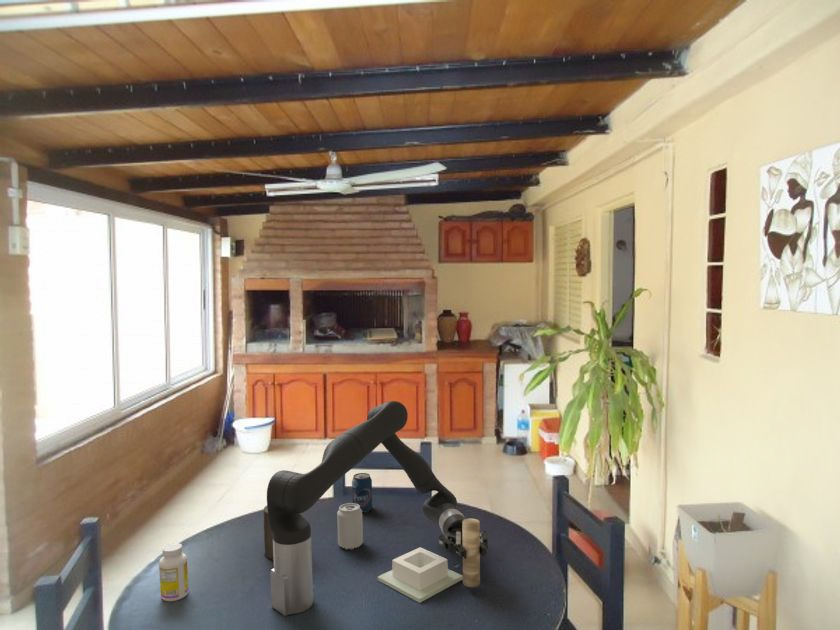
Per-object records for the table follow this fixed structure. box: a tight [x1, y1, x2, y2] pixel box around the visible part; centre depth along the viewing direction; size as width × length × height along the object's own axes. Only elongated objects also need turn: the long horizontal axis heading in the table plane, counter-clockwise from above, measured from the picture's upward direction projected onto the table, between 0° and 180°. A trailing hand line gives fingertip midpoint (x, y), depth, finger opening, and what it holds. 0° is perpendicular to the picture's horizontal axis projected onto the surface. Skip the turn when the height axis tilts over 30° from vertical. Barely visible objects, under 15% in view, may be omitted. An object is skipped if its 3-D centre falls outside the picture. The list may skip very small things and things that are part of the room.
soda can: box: [351, 472, 373, 513], centre depth 209 cm, size 7×7×12 cm
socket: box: [377, 546, 463, 604], centre depth 160 cm, size 16×16×6 cm
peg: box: [462, 517, 481, 588], centre depth 154 cm, size 4×4×16 cm
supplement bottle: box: [158, 542, 190, 602], centre depth 154 cm, size 7×7×13 cm
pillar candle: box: [263, 505, 274, 561], centre depth 177 cm, size 10×10×15 cm
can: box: [336, 502, 364, 550], centre depth 181 cm, size 8×8×12 cm
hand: (474, 553), depth 152 cm, fingers closed on peg, 4 cm apart
